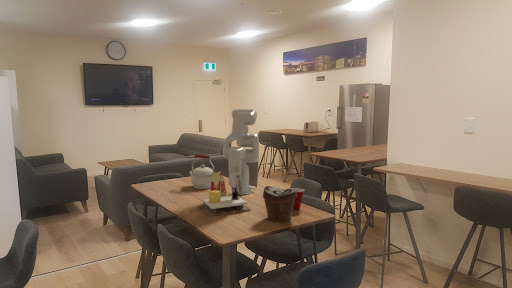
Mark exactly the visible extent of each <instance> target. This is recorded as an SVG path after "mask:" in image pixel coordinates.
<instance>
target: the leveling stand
mask: <svg viewBox="0 0 512 288" xmlns="http://www.w3.org/2000/svg"><path fill="white" fill-rule="evenodd" d="M198 208H199V209H200V210H201V211H202V212H203V213H204V214H206V215H207V216H208V217H216V216H222V215H224V216H225V215H230V214H237V213H244V212H251V208H249V207H248V206H246V204H245V205H237V206H230V207H223V208H216V209H211V208H210V207H209V206H208V205H206V204H205V203H204V202H203V201H202V205H198Z"/></svg>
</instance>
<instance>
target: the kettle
mask: <svg viewBox="0 0 512 288" xmlns="http://www.w3.org/2000/svg"><path fill="white" fill-rule="evenodd" d="M197 158H199V159H206V160H207V159H208V160H209V163H210V165H211V167H212V168H210V167H207V166H206V165H205V164H204V163H202V164H200V166H199V167H196V168H194V163H195V162H196V160H197ZM188 172H189V175H190V177H191V178H190V183H191V184H192V185H193V187H194V189H198V190H205V189H211V178H212V173H215V165H214V164H213V162H212V160H211V155H206V154H194V160H193V162H192V163H191V170H189V171H188Z"/></svg>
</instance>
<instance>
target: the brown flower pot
mask: <svg viewBox="0 0 512 288" xmlns="http://www.w3.org/2000/svg"><path fill="white" fill-rule="evenodd" d="M262 193H263V194H262V198H263V199H264V205H265V208H266V209H265V210H266V215H267V219H268V220H269V221H272V222H276V223H283V222H289V221H290V220H291V219H292V214H293V210H294V209H293V206H294V201H295V199H297V198H298V196H297V193H296V191H295V190H291V189H288V188H287V189H284V188H280V187H276V186H275V187H274V186H271V185H270V186H269V185H266V186H265V187H264V188H263V192H262Z"/></svg>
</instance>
